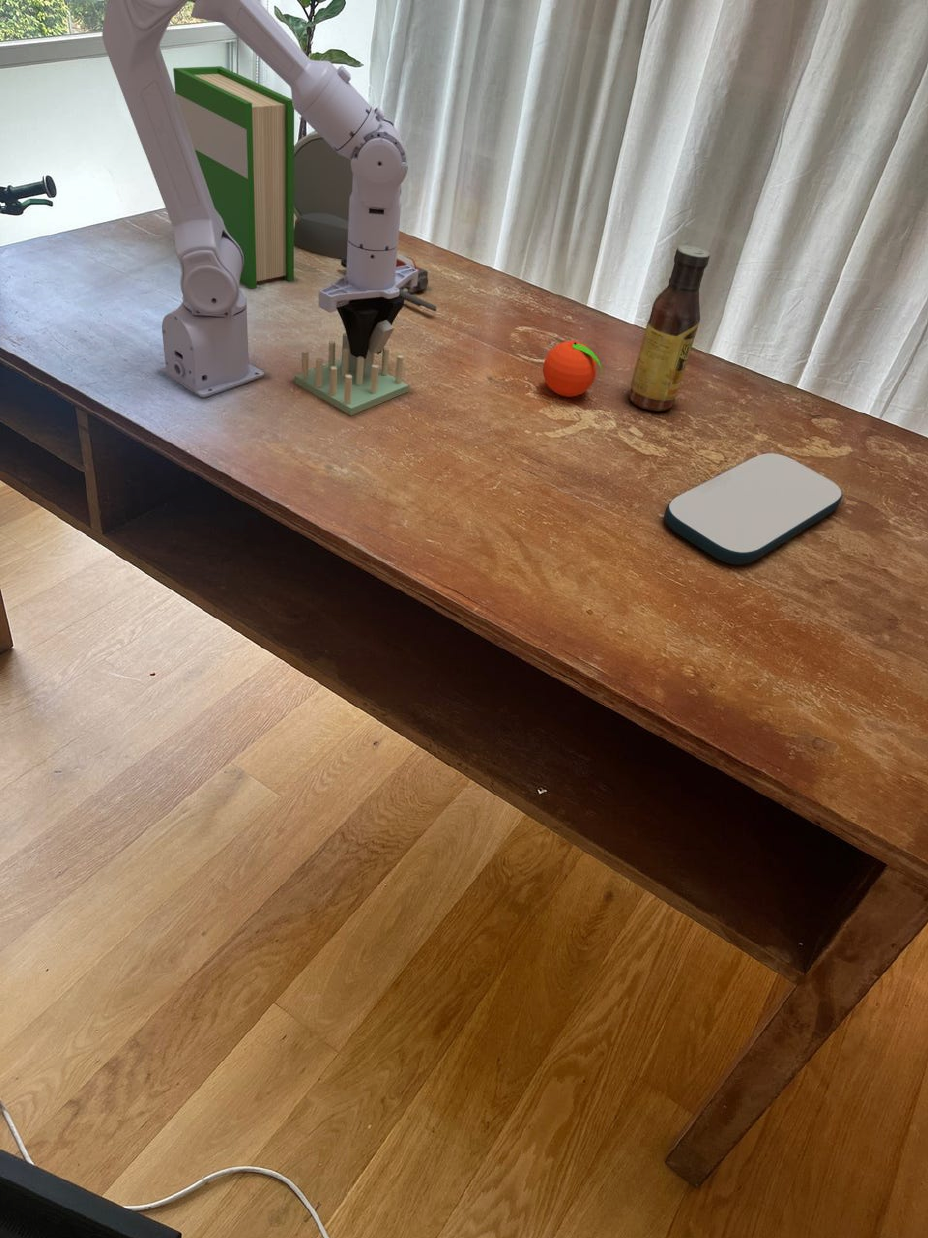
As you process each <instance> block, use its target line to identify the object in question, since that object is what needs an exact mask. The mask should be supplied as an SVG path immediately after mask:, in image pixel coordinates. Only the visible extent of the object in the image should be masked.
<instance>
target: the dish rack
mask: <svg viewBox="0 0 928 1238" xmlns="http://www.w3.org/2000/svg"><path fill="white" fill-rule="evenodd" d="M309 353H310V351H309V350H307V349H303V350H301V372H300V373H297V374H294V383H295V384H297V385H298V386H299V387H301V388H303V389H305V390H306V391H308V392H310V393H311V394H313V395H315V396H317V397H318V398H320V399H322V400H323V401H325V402H326V403H329V404H330V405H332V406H333V407H335V408H336V409H339V410H340V411H341V412H343V413H345V414H347V415H348V416H351V417H352V416H353V415H356V414H358V413H361V412H363V411H365V410H368V409H370V408H373V407H375V406H377V405H381V404H383V403H385V402H387V401H390V400H392V399H395V398H397V397H399V396H402V395H404V394H406V393H408V392H409V386H410V385H409V384H408V383H406V382H404V381H403V371H404V361H405V356H404V355H403V354H398V355H397V356H396V358H397V359H396V368H395V376H393V375H391V374H390V373H388V371H389V359H390V348H389V347H387V346H384V348H383V350H382V353H381V354H382V356H381V367H380V368H379V365H378V364H374V363H375V357H374V358H373V365H372V372H371V376H370V377H367V378H363V366H364V358H363V357H361V356H359V357H358V358H357V373H356V374H354V373H352V372H350V371H349V353H350V350H349V349H343V362H342V358H339V359H336V341H334V340H329V341H328V358H327V359H328V363H325V364H324V360H323V358H322V357H317V358H316V359H315V367H314V368H311V369H309V364H310V363H309V359H310V358H309Z"/></svg>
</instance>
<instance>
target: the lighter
mask: <svg viewBox="0 0 928 1238" xmlns="http://www.w3.org/2000/svg"><path fill="white" fill-rule="evenodd" d="M394 330H395V328H394V327H393V325H391V324H390V323H389V322H388V321H387V320H385V321H382V322H379V323H378V324H377V325H376V327H375V329H374V331H373V333H372V335H371V337H370V339H369V347H368V353H367V357H366V359H364V366H363V378H367V377H370V376H371V372H372V365H373V358H374V359H375V355H376V353H378V352H381V351H382V352H383V348H384V347H386V345H387V343H388V341H389V339H390V337H391V336H392V334H393V332H394ZM343 349H349V350H350V347H349V342H348V338H347V334H346V332H344V333H342V345H341V359H342V362H343ZM382 352H381V353H382ZM349 371H350V372H352V373H354V374H356V373H357V357H355V356H353V355H351V352H350V353H349Z"/></svg>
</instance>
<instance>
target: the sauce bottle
mask: <svg viewBox="0 0 928 1238" xmlns="http://www.w3.org/2000/svg"><path fill="white" fill-rule="evenodd" d="M710 257H711V253H710V252H709V251H707V250H706V249H704V248H701V247H699V246H694V245H687V244H686V245H679V246H677V248H676V250H675V253H674V257H673V267H672V271H671V274H670V277H669V278H668V285H667V286H666V287H665V288H664V289H663V290H662V291H661V293H659V294H658V295H657V297H656V298H655V300H654V301H653V303H652V307H651V311H650V315H649V319H648V320H647V323H646V326H645V330H644V334H643V338H642V342H641V345H640V349H639V353H638V356H637V360H636V363H635V367H634V372H633V374H632V379H631V382H630V389H629V392H628V397H629V400H630V401H631V402H632V403H633V404H634V405H635V406H636V407H638V408H640V409H643V410H647V411H652V412H663V411H667V410H669V409H670V408H671V407H673V405H674V402H675V399H676V398H677V396H678V393H679V389H680V387H681V384H682V381H683V377H684V373H685V371H686V367H687V365H688V361H689V357H690V355H691V352H692V348H693V345H694V341H695V338H696V334H697V333H698V328H699V326H700V325H699V324H700V321H701V312H700V311H701V309H700V288H701V282H702V280H703V276H704V273H705V269H706V268H707V266H708V265H709V260H710Z"/></svg>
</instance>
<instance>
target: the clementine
mask: <svg viewBox="0 0 928 1238" xmlns="http://www.w3.org/2000/svg"><path fill="white" fill-rule="evenodd" d="M597 365H598V366H597ZM598 367H599V369H600V374H601V375H603V373H602V372H603V371H602V370H603V369H602V364H601V362H600V359H599V358H598V357H597V355H596V354H595V353H594V351H593V350H591V349H590V348H589V347H588V346H587V345H585V344H584V343H582V342H579V341H576V340H568V341H564V342H560V343H558V344H556V345H555V346H553V348H551V349H550V350H549V351H548V353H547V354H546V356H545V359H544V362H543V366H542V374H543V377H544V381H545V384H546V385H547V386H548V388H549V389H550V390H551V391H553V392H554V393H555V394H557V395H559V396H561V397H569V398H571V397H575V396H579V395H582V394H583V393H585V392H586V391H587V390H588V389H589V388H590V387H591V386H592V385H593V383H594V381H595V379H596V376H597V368H598Z"/></svg>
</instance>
